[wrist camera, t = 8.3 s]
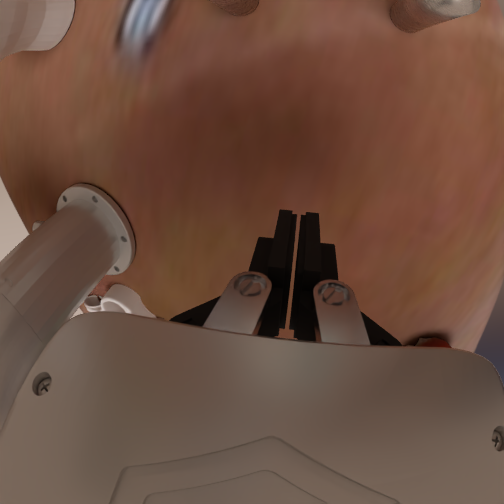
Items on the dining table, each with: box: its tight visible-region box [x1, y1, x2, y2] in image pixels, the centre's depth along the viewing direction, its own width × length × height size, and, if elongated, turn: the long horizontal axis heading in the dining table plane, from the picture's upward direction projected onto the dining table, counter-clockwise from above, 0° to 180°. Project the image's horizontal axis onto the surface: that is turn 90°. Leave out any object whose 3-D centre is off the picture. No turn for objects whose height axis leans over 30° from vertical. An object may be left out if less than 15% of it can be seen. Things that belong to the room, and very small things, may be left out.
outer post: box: [390, 0, 481, 33], centre depth 8 cm, size 3×3×9 cm
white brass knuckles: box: [84, 284, 156, 318], centre depth 40 cm, size 3×18×15 cm
